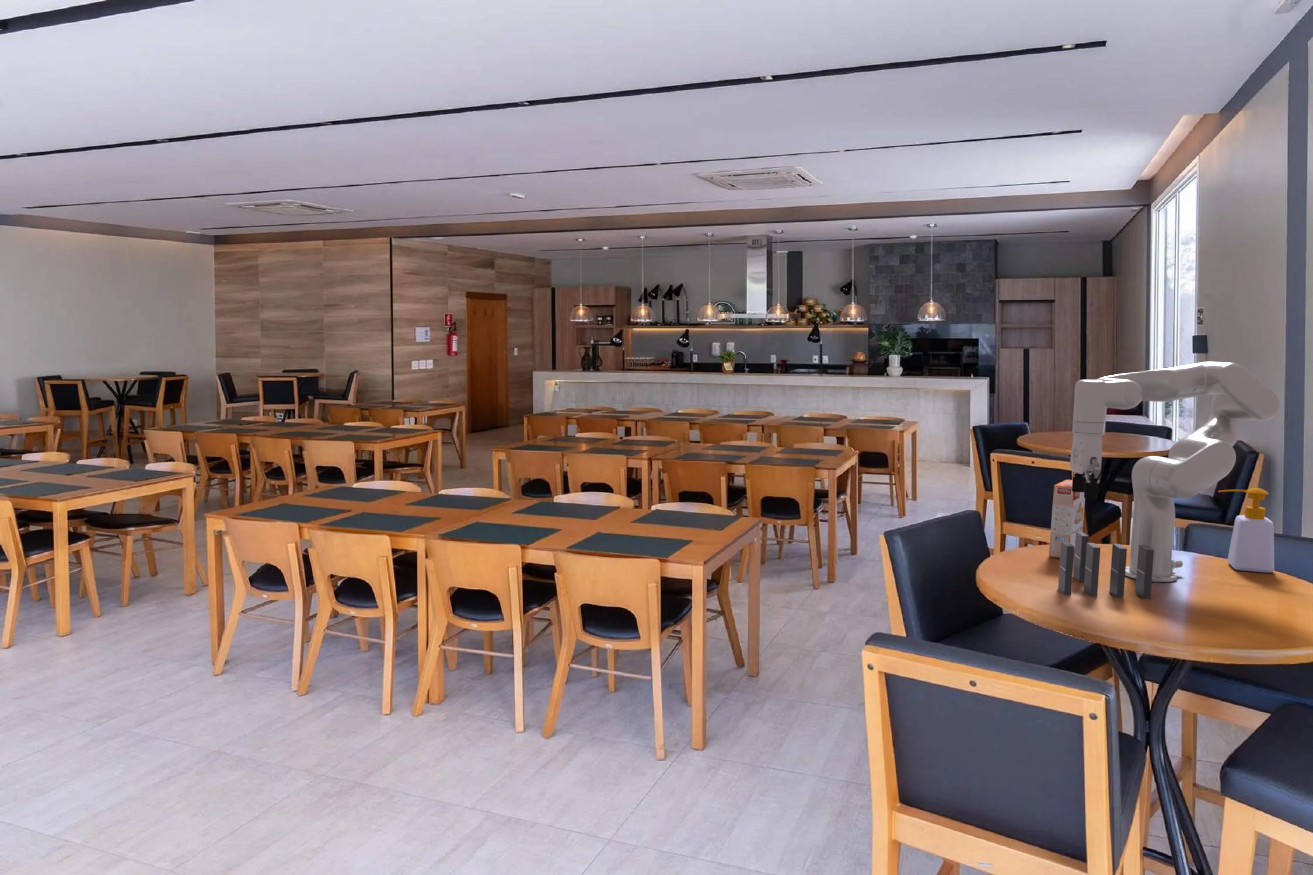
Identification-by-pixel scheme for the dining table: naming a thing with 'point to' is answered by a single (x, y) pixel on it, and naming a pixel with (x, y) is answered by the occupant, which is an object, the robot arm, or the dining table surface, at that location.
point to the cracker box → (1065, 516)
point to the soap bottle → (1252, 537)
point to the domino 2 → (1080, 556)
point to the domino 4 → (1118, 570)
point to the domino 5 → (1144, 571)
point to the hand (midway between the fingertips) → (1084, 495)
